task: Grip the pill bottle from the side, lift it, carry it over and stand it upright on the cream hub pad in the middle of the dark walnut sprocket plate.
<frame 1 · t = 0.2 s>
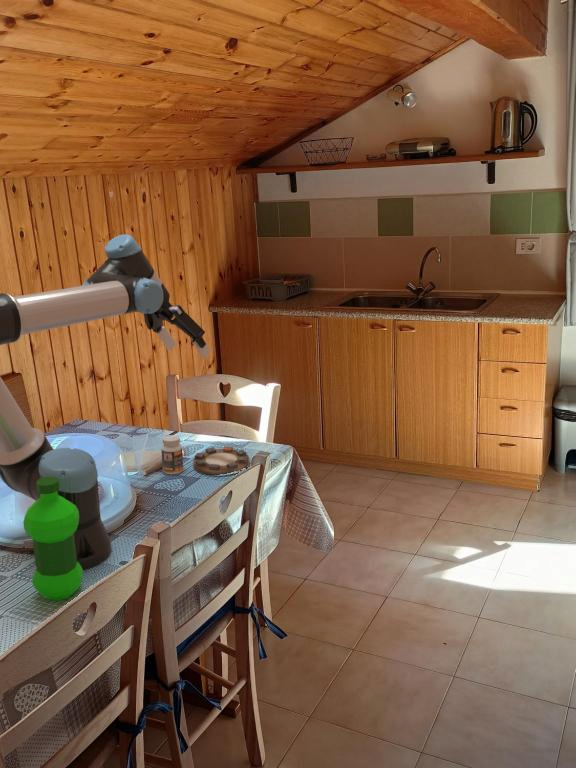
hand: (189, 351, 200), 35 cm above the table, tool tilted 35°, fingers open, 13 cm apart
plastic bottle: (59, 594, 154), on the table
pill bottle: (173, 471, 211), on the table
sprocket plate: (221, 464, 215), on the table
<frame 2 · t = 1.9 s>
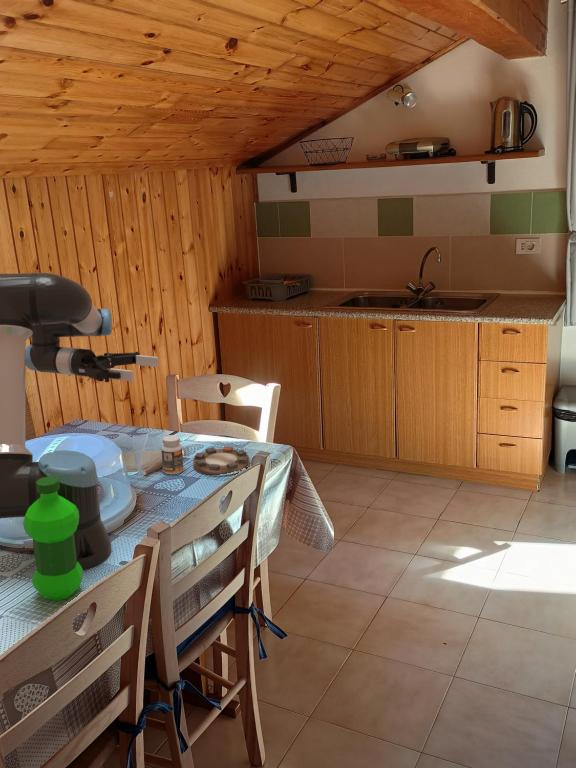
hand: (145, 368, 202), 30 cm above the table, tool horizontal, fingers open, 13 cm apart
nothing on the table moved.
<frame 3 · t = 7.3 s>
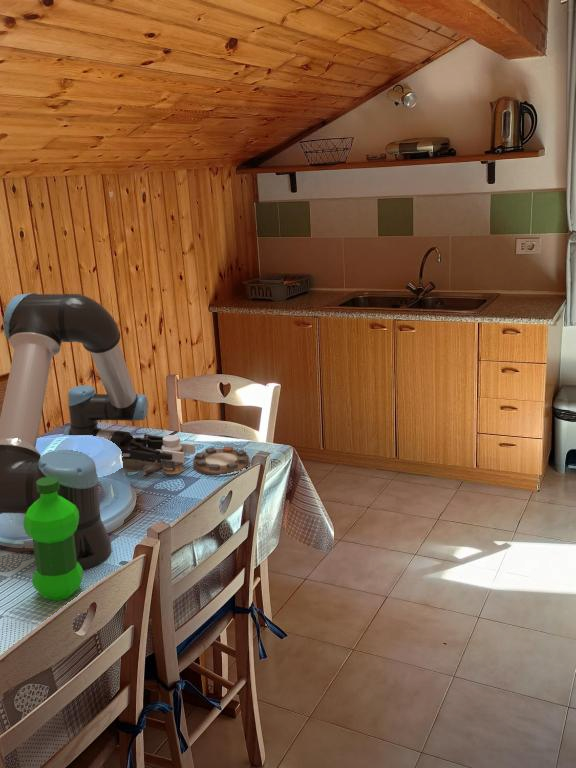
hand: (188, 453, 208), 6 cm above the table, tool horizontal, fingers closed on pill bottle, 6 cm apart
pill bottle: (173, 471, 211), on the table, touching gripper
everything else where it was.
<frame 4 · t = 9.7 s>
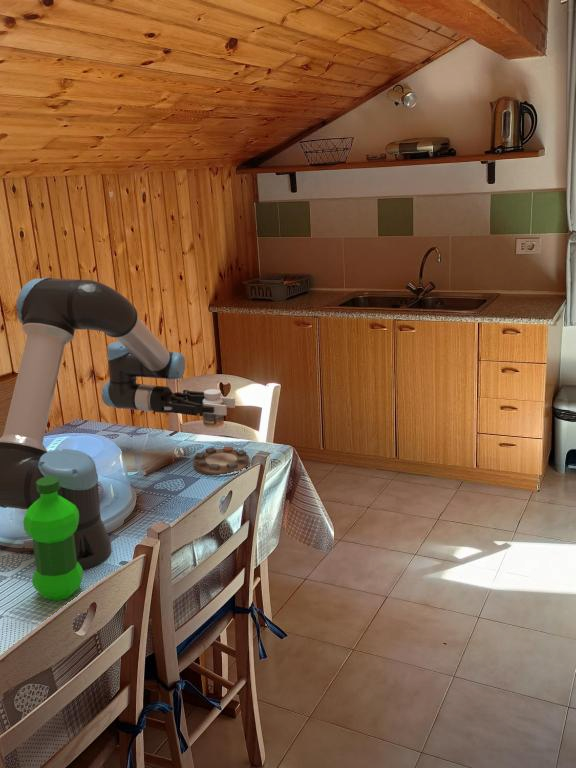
hand: (230, 406, 208), 18 cm above the table, tool horizontal, fingers closed on pill bottle, 6 cm apart
pill bottle: (213, 425, 212), point 12 cm above the table, touching gripper
everything else where it was.
when the fingers open (9 cm above the table, at t = 12.3 s): pill bottle drops 1 cm, resting on sprocket plate.
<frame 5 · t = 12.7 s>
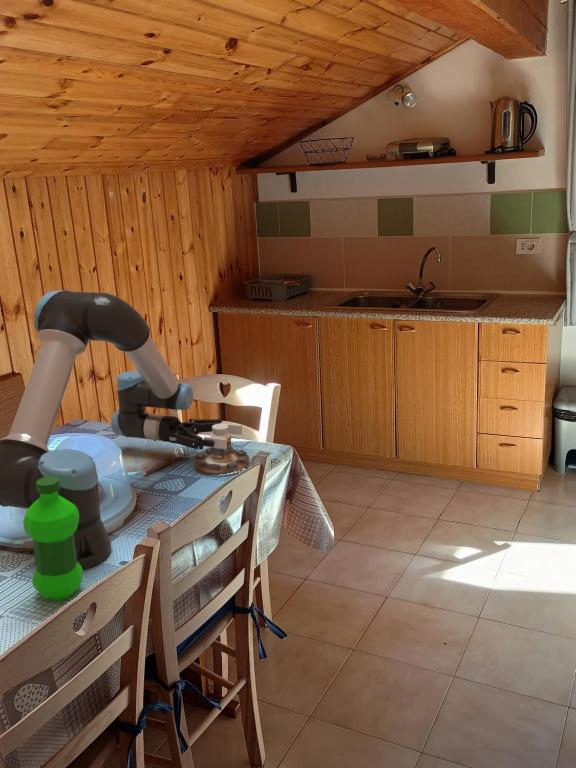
hand: (234, 436, 211), 9 cm above the table, tool horizontal, fingers open, 10 cm apart
pill bottle: (221, 459, 215), point 2 cm above the table, touching sprocket plate
everything else where it was.
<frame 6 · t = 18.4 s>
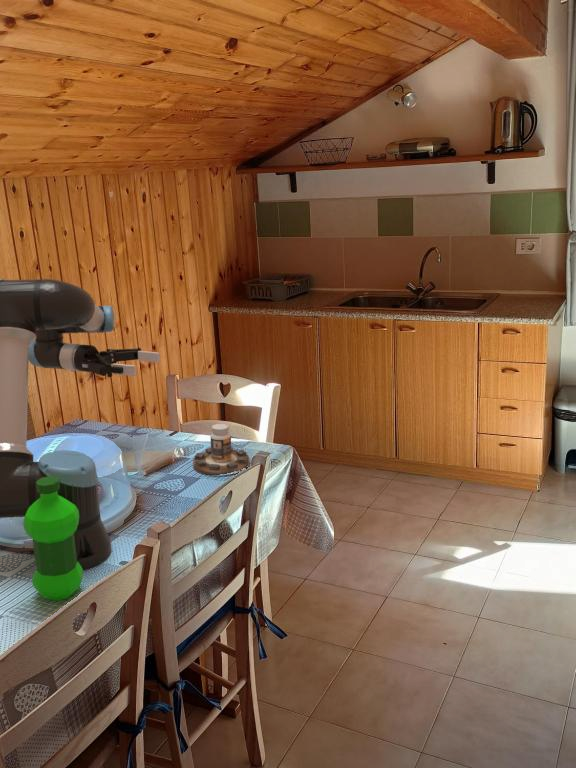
hand: (147, 364, 206), 30 cm above the table, tool horizontal, fingers open, 13 cm apart
nothing on the table moved.
at the end: pill bottle 0.1 cm from the sprocket plate (horizontally); pill bottle tilted 0°; pill bottle point 1.5 cm above the table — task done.
